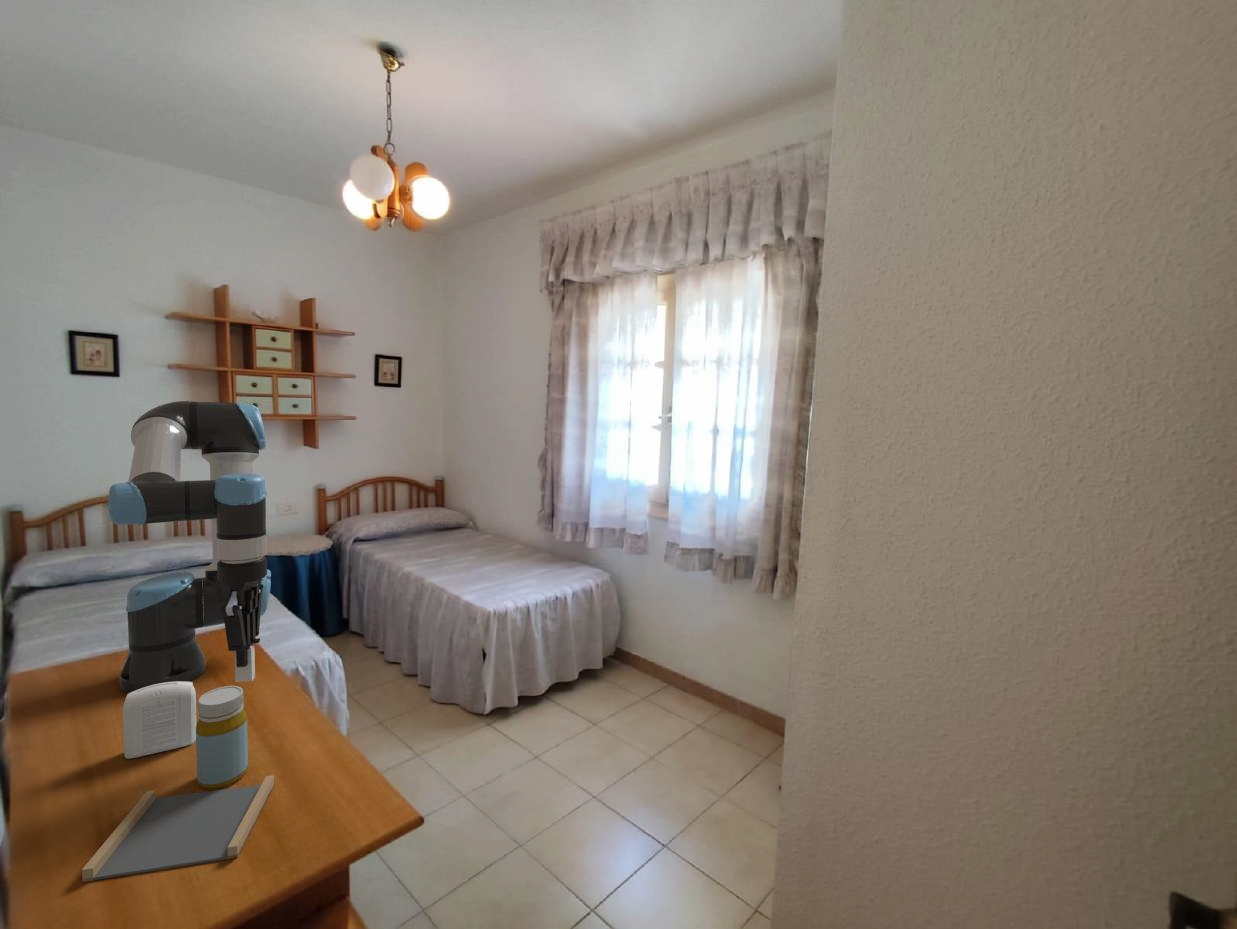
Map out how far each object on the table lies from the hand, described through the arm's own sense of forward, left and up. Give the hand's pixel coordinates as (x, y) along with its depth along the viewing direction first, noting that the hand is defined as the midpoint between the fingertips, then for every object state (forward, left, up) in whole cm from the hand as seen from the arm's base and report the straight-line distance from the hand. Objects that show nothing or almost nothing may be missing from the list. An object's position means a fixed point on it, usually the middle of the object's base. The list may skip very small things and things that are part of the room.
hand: (245, 679), depth 100 cm
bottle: (+10, 0, -13) cm, 16 cm away
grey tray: (+21, 0, -13) cm, 25 cm away
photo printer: (-1, -14, -13) cm, 19 cm away
